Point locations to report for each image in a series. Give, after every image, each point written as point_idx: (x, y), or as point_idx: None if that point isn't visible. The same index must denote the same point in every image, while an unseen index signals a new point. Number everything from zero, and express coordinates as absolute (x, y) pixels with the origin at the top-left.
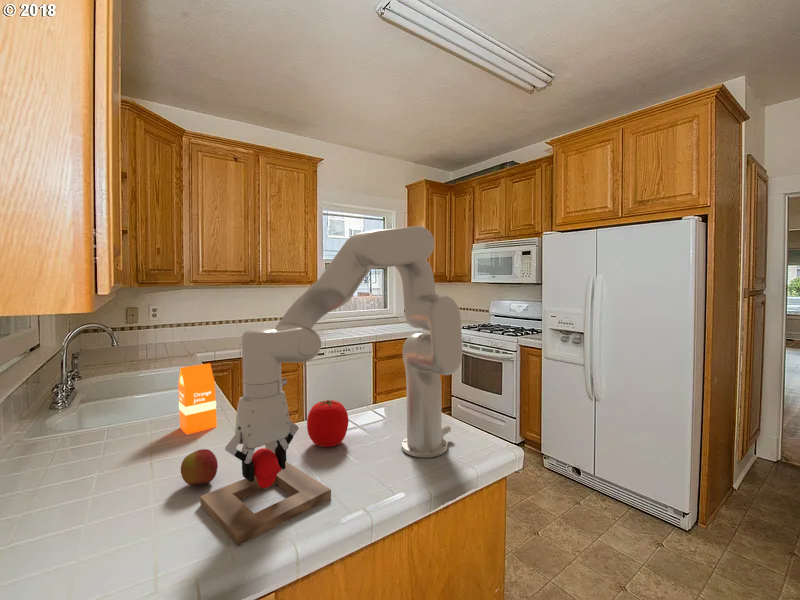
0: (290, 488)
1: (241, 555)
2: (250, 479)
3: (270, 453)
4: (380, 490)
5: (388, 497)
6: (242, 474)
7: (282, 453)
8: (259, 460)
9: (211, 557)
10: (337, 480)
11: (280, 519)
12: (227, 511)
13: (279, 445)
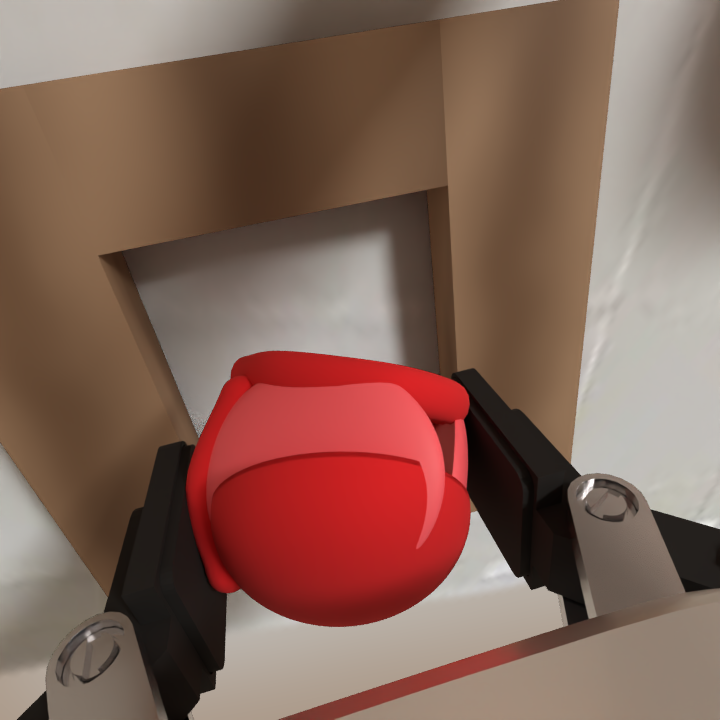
0: (449, 352)
1: None
2: None
3: (423, 595)
4: (688, 486)
5: None
6: (133, 512)
7: (518, 570)
8: (291, 618)
9: (24, 585)
10: (659, 343)
11: None
12: (67, 441)
13: (568, 561)
